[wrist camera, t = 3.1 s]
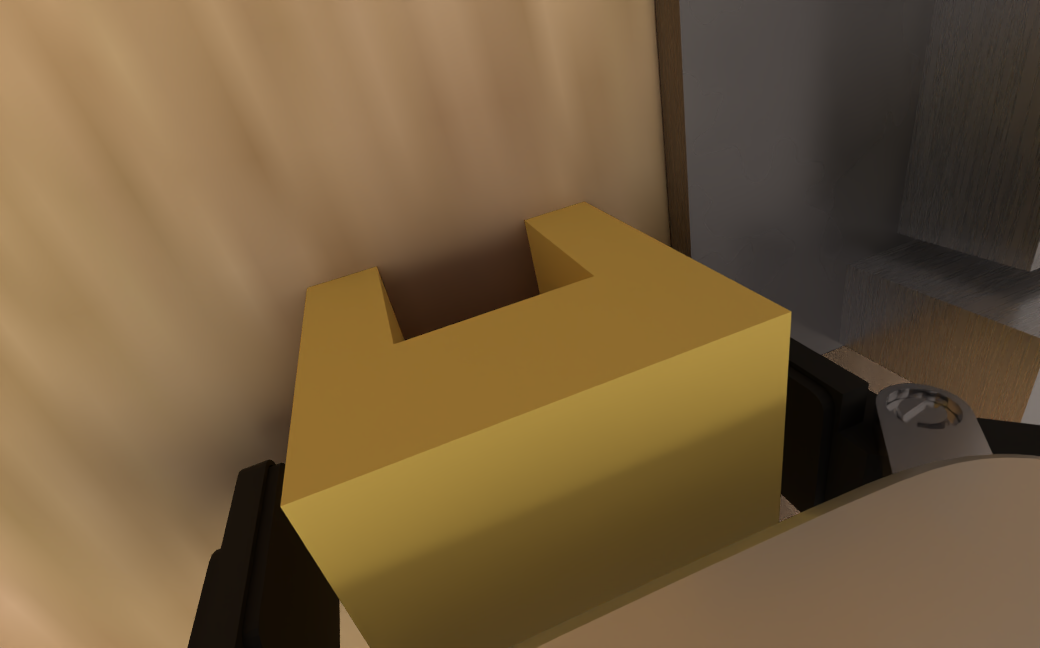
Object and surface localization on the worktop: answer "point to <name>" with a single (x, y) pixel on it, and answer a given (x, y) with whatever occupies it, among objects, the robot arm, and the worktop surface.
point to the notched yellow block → (534, 438)
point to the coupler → (868, 177)
